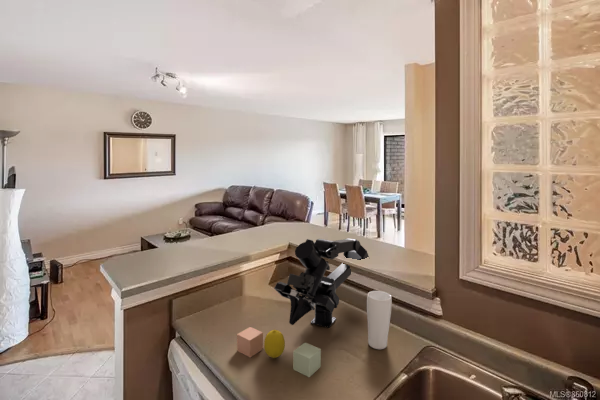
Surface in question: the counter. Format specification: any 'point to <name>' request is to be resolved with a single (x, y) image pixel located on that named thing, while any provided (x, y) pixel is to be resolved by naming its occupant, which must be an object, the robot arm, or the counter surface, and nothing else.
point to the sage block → (306, 359)
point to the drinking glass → (378, 318)
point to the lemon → (274, 343)
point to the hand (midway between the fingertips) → (290, 324)
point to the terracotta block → (250, 341)
